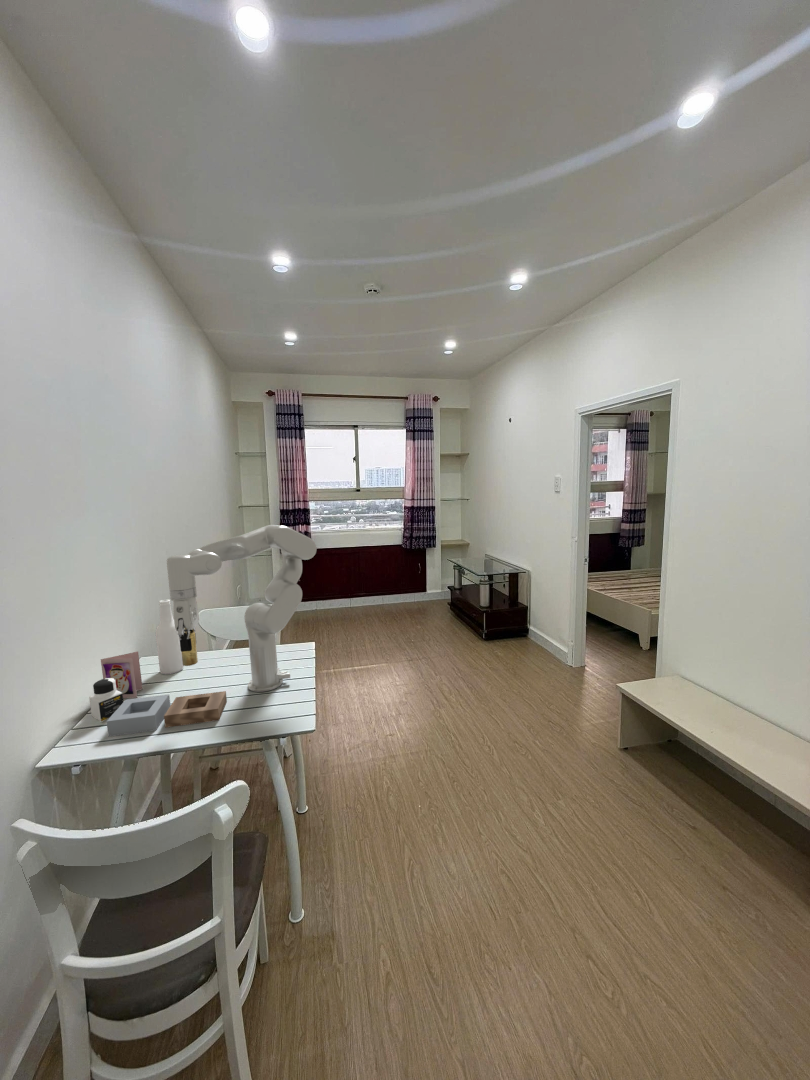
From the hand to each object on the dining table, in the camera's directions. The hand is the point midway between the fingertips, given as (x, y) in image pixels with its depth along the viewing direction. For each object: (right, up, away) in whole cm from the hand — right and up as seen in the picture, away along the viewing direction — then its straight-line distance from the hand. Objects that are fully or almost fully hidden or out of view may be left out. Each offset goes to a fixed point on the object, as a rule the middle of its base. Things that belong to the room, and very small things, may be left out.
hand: (188, 647), depth 136 cm
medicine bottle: (-30, -24, +5) cm, 39 cm away
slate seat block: (-15, -24, 0) cm, 29 cm away
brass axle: (0, -5, +1) cm, 5 cm away
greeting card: (-33, -22, +19) cm, 44 cm away
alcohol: (-27, -20, +38) cm, 50 cm away
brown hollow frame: (+1, -23, +3) cm, 23 cm away
